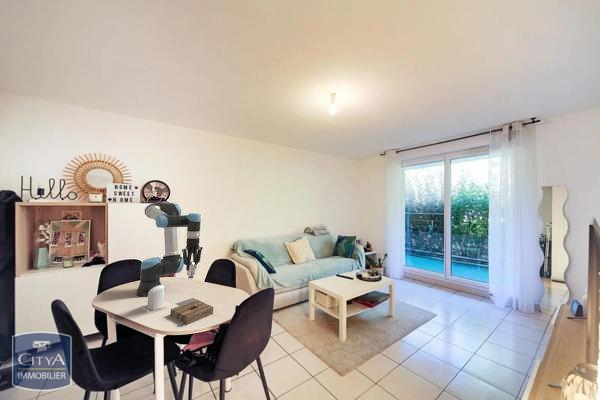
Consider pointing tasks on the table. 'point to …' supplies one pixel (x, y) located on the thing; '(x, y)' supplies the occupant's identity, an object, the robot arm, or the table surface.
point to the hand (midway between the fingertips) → (191, 274)
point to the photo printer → (155, 297)
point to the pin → (192, 270)
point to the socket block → (191, 311)
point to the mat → (187, 301)
